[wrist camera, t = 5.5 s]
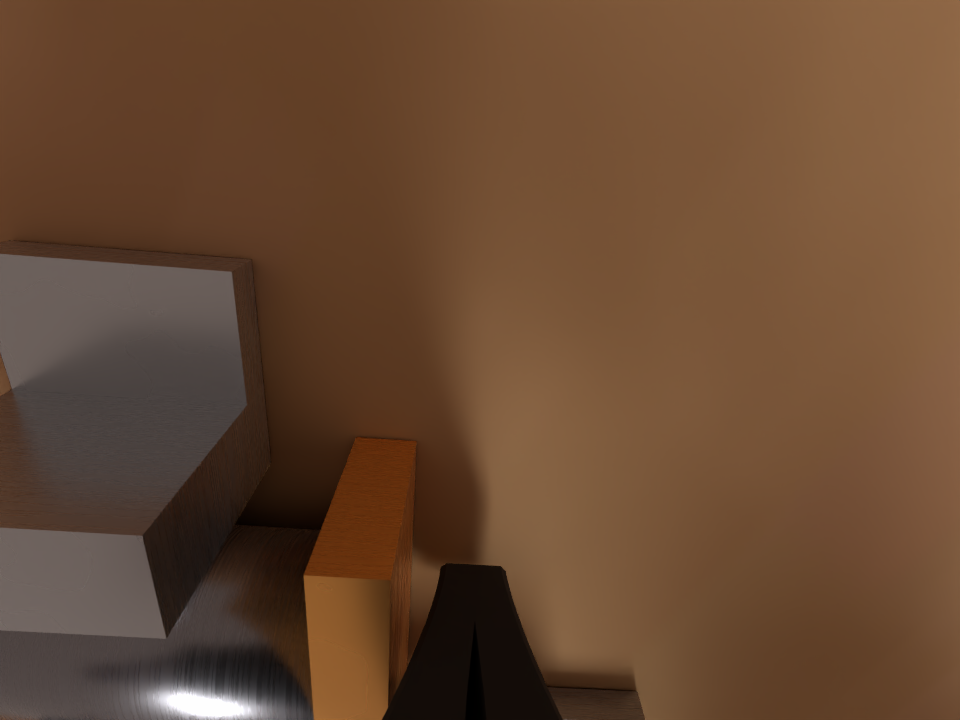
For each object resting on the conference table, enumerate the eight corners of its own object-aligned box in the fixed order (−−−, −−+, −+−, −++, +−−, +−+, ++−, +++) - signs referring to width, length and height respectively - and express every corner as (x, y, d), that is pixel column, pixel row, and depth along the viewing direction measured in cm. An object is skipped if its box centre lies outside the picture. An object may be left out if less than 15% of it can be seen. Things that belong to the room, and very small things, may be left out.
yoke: (251, 259, 9) (99, 354, 5) (297, 735, 14) (237, 941, 11) (9, 240, 9) (-314, 325, 5) (148, 728, 14) (36, 936, 11)
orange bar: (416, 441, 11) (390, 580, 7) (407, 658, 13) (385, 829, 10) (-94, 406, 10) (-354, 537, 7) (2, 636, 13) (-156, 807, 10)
